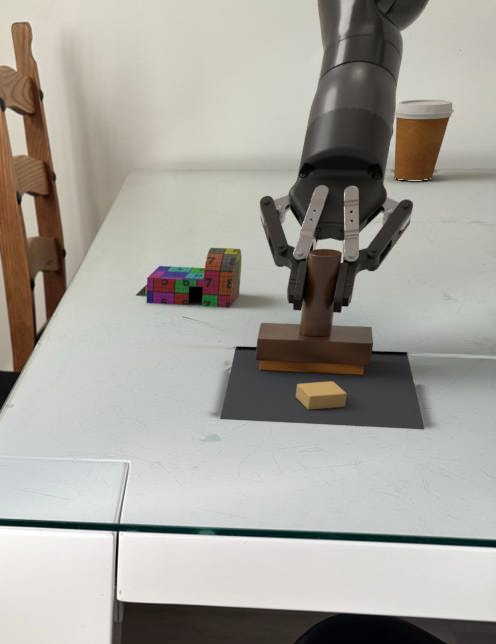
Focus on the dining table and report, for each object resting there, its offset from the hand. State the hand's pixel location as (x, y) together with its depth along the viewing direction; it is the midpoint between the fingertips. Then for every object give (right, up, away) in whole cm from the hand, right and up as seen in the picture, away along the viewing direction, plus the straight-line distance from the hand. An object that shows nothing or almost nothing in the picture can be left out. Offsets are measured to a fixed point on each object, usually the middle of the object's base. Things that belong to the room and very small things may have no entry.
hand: (317, 306), depth 88 cm
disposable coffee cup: (+44, +52, +89) cm, 112 cm away
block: (-7, +9, +27) cm, 29 cm away
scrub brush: (+1, -4, +5) cm, 6 cm away
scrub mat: (+1, -7, +2) cm, 7 cm away
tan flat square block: (-1, -9, -3) cm, 10 cm away
